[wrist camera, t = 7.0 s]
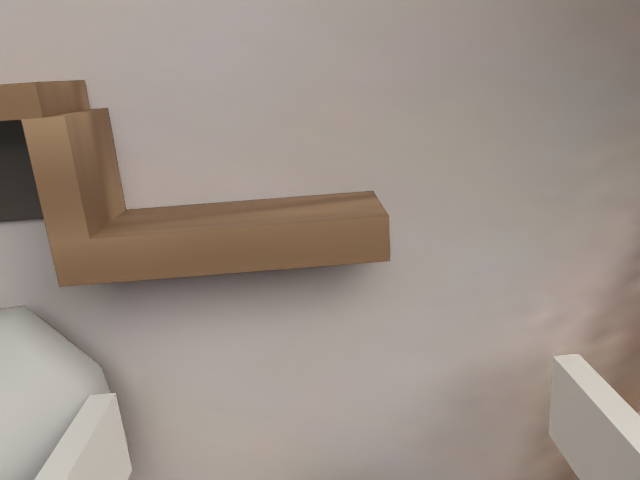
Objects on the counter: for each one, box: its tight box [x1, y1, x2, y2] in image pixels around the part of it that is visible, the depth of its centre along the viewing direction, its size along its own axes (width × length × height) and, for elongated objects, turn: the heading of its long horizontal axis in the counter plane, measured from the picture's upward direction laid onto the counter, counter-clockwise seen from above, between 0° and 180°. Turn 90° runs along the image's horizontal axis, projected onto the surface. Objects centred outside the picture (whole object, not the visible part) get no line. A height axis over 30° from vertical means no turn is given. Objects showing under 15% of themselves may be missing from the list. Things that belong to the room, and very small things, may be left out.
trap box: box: [0, 80, 390, 287], centre depth 17 cm, size 20×21×4 cm
